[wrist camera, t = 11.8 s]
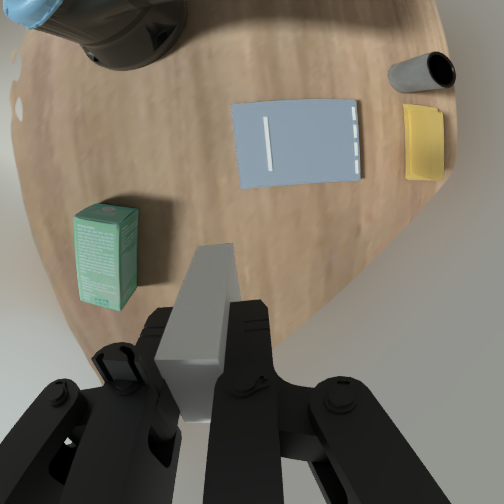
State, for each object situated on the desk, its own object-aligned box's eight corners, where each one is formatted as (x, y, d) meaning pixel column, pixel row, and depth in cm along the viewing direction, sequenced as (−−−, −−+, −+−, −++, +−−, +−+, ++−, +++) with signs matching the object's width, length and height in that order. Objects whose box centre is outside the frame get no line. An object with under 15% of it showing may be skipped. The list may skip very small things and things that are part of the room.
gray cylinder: (391, 93, 31) (432, 87, 22) (384, 63, 29) (422, 49, 20) (416, 93, 31) (459, 89, 21) (410, 64, 29) (451, 53, 20)
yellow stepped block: (403, 104, 31) (425, 102, 26) (433, 108, 31) (457, 108, 26) (405, 178, 36) (427, 187, 30) (434, 178, 36) (457, 187, 30)
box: (140, 206, 38) (118, 223, 31) (138, 286, 43) (122, 313, 36) (97, 200, 37) (70, 215, 30) (100, 278, 43) (79, 302, 36)
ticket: (231, 105, 32) (230, 104, 31) (352, 100, 32) (356, 99, 31) (241, 187, 37) (240, 189, 36) (357, 179, 36) (360, 180, 35)
